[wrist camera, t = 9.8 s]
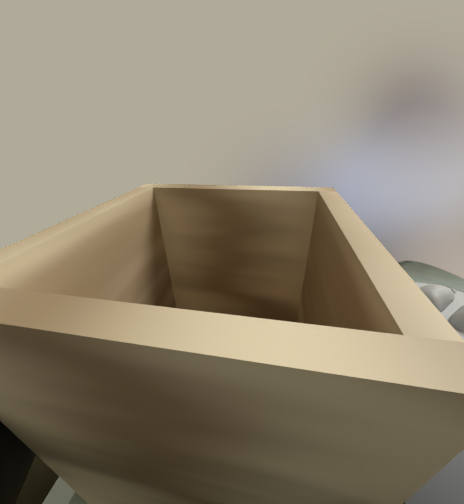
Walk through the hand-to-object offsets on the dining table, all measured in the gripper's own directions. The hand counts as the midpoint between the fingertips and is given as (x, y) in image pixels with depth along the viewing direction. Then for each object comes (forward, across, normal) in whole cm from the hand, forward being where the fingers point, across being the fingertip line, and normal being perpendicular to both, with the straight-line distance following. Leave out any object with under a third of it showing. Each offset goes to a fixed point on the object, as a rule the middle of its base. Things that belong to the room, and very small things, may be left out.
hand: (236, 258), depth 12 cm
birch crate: (-5, 0, -6) cm, 8 cm away
